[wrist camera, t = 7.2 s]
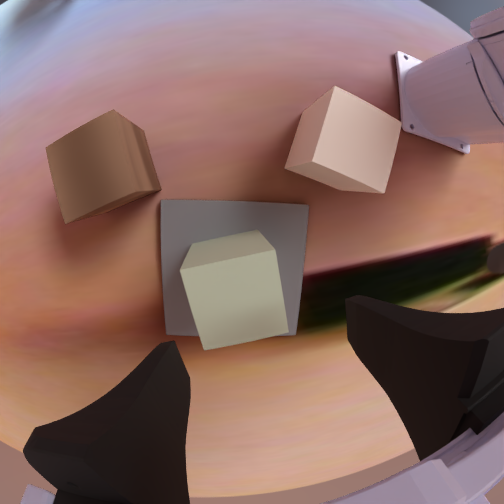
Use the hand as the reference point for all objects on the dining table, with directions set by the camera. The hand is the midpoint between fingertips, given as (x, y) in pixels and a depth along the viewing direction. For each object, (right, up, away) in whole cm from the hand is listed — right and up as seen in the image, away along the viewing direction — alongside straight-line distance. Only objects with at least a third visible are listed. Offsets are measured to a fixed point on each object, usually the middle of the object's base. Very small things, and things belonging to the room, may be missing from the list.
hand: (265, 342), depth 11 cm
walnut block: (-10, +9, +6) cm, 15 cm away
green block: (-2, +3, +8) cm, 9 cm away
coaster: (-2, +2, +9) cm, 9 cm away
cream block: (+4, +11, +8) cm, 14 cm away
